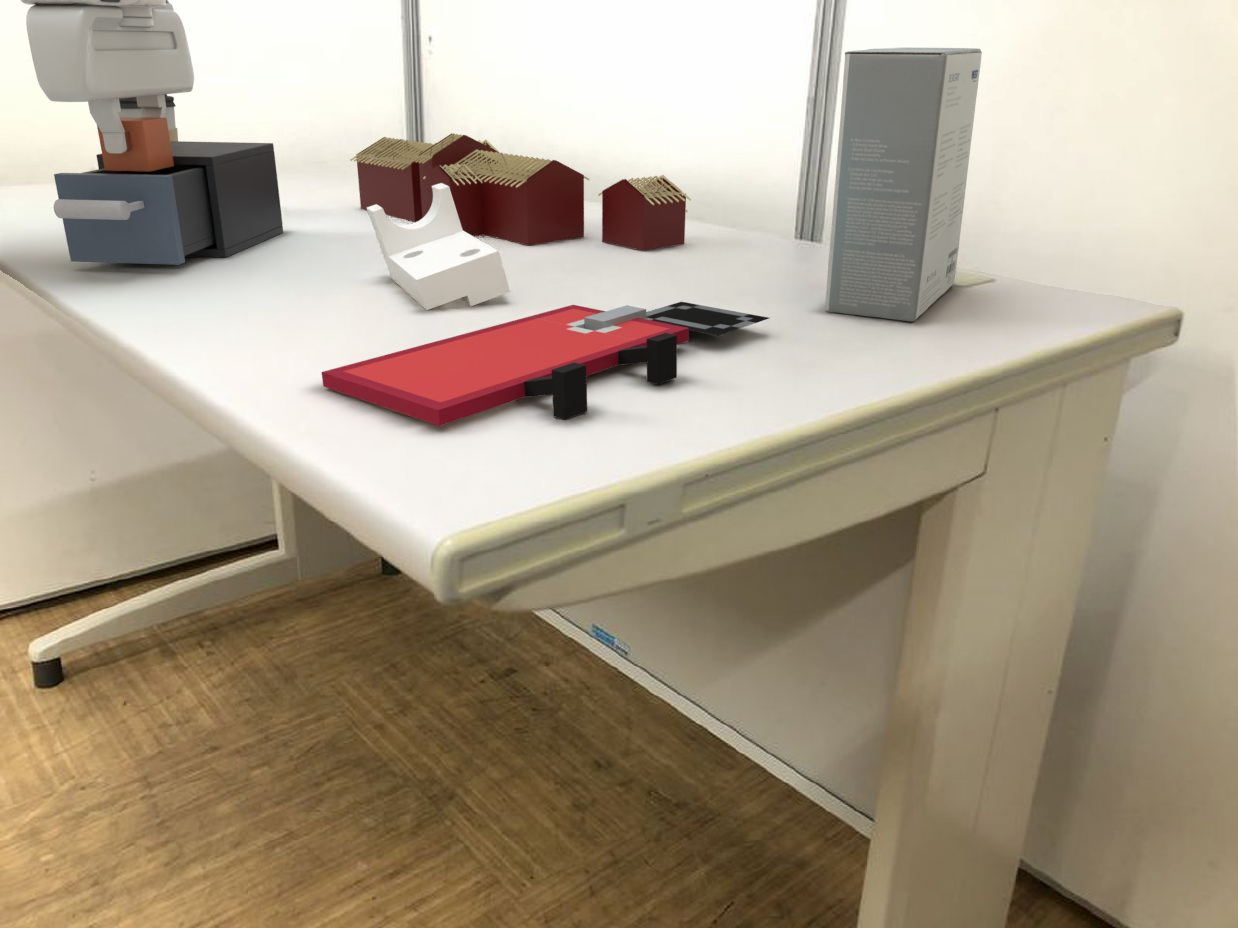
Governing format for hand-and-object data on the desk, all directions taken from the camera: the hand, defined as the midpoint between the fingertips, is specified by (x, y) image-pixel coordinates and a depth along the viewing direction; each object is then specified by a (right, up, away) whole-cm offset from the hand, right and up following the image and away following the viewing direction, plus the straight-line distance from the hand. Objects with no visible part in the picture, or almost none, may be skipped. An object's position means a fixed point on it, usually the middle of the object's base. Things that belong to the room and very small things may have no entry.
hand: (136, 149), depth 95 cm
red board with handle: (+42, -22, -25) cm, 54 cm away
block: (0, -2, +1) cm, 2 cm away
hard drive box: (+68, -15, -7) cm, 70 cm away
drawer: (0, -9, +3) cm, 10 cm away
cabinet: (+1, -6, +14) cm, 15 cm away
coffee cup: (-13, +1, +31) cm, 33 cm away
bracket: (+29, -14, -6) cm, 33 cm away
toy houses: (+32, -1, +26) cm, 41 cm away
